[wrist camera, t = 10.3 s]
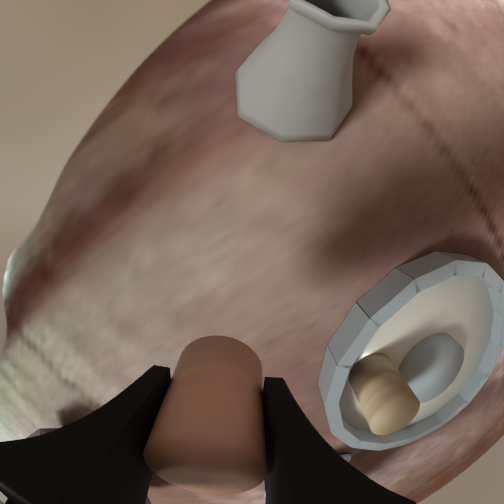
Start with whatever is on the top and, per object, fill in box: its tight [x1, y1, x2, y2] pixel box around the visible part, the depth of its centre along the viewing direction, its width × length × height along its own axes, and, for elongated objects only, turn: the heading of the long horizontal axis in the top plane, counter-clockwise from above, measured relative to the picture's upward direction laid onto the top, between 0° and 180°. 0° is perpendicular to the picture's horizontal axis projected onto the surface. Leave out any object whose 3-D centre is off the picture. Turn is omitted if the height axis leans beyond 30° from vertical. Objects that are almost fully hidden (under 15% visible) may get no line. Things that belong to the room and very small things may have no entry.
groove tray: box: [318, 251, 504, 451], centre depth 17 cm, size 18×18×2 cm
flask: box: [235, 0, 391, 142], centre depth 9 cm, size 7×7×10 cm
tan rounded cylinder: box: [349, 353, 420, 435], centre depth 15 cm, size 3×3×5 cm
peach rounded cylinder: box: [143, 336, 267, 495], centre depth 8 cm, size 3×3×5 cm
